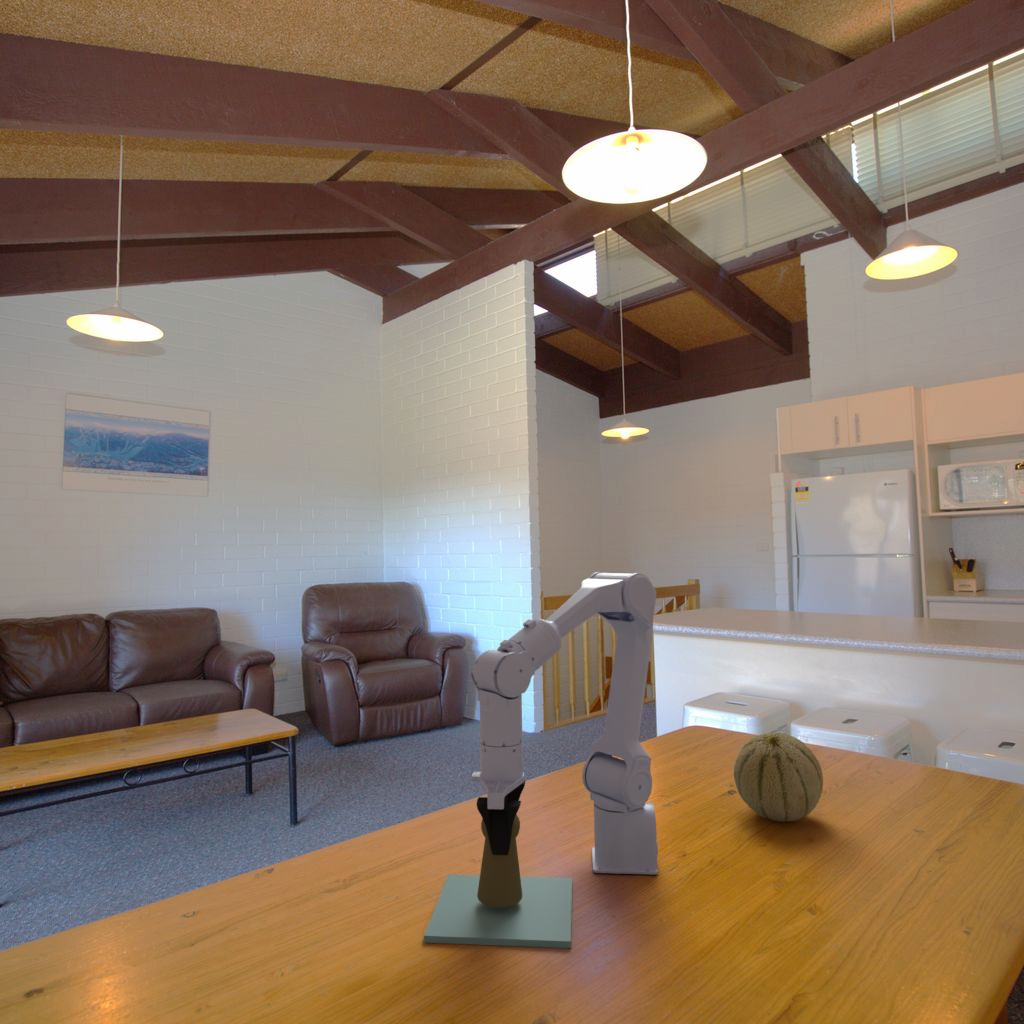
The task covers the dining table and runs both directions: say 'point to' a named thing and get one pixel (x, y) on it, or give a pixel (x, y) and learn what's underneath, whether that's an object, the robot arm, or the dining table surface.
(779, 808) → the cantaloupe
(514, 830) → the olive game pawn
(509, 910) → the teal board
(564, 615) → the robot arm
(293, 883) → the dining table surface
